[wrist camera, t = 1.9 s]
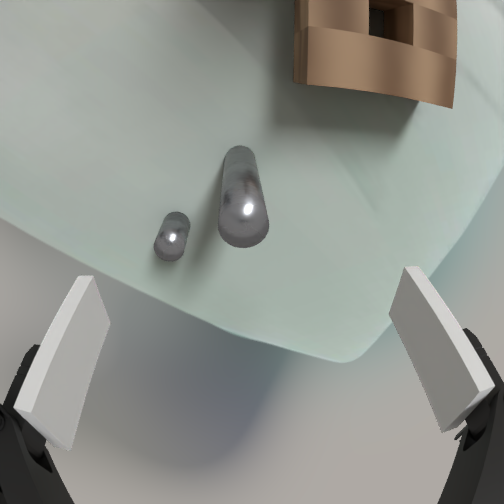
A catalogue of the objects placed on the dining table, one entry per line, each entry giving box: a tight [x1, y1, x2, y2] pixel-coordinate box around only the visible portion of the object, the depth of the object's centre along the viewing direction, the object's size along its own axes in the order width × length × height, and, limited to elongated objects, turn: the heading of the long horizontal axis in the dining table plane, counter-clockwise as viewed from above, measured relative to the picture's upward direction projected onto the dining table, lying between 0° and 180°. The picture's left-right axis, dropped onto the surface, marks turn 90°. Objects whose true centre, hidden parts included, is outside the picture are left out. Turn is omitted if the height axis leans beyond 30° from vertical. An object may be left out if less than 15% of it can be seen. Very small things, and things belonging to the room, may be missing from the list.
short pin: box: [154, 212, 190, 261], centre depth 32 cm, size 3×3×5 cm
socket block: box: [293, 0, 457, 109], centre depth 20 cm, size 14×14×6 cm
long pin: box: [218, 146, 269, 248], centre depth 24 cm, size 3×3×14 cm
